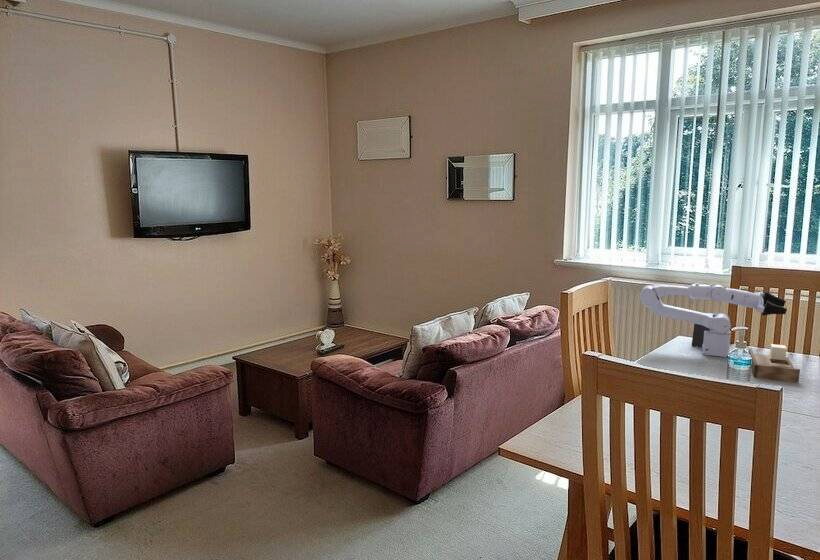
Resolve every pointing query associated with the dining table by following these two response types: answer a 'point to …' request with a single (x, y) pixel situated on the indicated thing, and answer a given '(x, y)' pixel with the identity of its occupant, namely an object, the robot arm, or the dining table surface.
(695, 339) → the phone stand
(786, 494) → the dining table surface
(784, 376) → the trap board
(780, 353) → the cream block
